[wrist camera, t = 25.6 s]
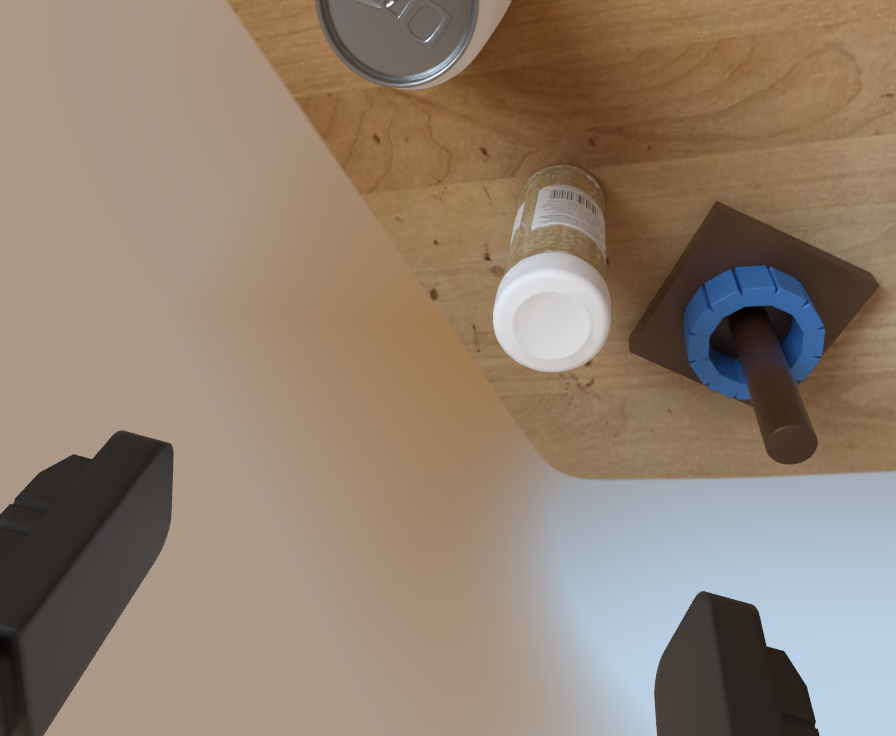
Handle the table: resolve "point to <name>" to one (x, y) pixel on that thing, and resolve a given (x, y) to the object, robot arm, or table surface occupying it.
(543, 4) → the table surface
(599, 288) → the sprinkles bottle
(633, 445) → the table surface
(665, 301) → the tape stand
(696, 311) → the tape roll
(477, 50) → the can
